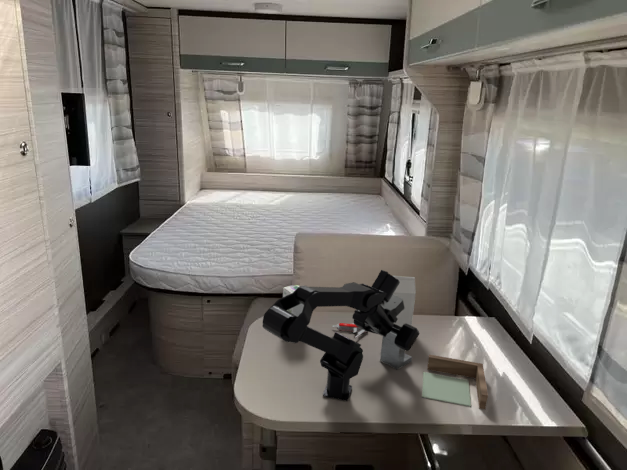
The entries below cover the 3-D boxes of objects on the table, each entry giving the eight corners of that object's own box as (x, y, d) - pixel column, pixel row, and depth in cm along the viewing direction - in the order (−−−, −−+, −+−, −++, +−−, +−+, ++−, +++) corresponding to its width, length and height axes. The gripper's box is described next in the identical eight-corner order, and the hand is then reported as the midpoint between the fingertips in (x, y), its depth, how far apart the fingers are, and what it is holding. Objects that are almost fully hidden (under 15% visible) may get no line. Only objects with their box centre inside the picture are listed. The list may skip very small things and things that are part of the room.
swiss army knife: (331, 339, 150) (331, 333, 150) (332, 319, 163) (333, 314, 163) (368, 342, 150) (368, 336, 149) (366, 322, 163) (367, 317, 162)
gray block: (396, 369, 135) (400, 337, 132) (380, 360, 139) (383, 329, 136) (411, 361, 140) (415, 330, 137) (394, 353, 144) (398, 322, 141)
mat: (470, 406, 120) (470, 405, 120) (421, 397, 123) (422, 396, 123) (468, 380, 132) (468, 379, 132) (423, 372, 134) (423, 371, 134)
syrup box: (305, 332, 153) (308, 290, 149) (290, 336, 150) (292, 293, 146) (296, 325, 157) (298, 283, 153) (280, 329, 154) (282, 286, 150)
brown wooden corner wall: (485, 409, 120) (488, 395, 119) (425, 397, 123) (427, 384, 122) (480, 376, 134) (482, 363, 133) (427, 366, 137) (429, 354, 136)
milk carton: (410, 336, 154) (417, 281, 149) (388, 335, 154) (394, 280, 149) (406, 326, 161) (413, 273, 156) (385, 325, 161) (391, 271, 156)
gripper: (419, 301, 122) (438, 328, 133) (363, 278, 135) (384, 305, 145) (397, 338, 119) (418, 363, 129) (342, 311, 132) (365, 336, 142)
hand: (395, 339), depth 137 cm, fingers open, 9 cm apart
